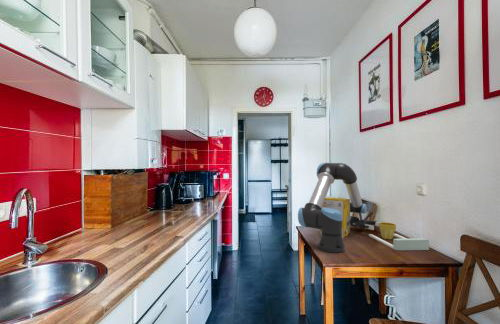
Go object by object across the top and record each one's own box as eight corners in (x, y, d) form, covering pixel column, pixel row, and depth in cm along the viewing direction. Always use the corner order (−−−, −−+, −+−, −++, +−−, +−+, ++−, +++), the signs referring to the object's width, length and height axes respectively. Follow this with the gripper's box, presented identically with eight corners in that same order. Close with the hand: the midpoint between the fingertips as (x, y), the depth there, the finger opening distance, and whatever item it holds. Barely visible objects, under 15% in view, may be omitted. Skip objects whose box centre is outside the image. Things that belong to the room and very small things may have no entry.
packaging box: (349, 233, 194) (350, 199, 194) (343, 238, 181) (343, 201, 181) (327, 230, 203) (328, 197, 203) (319, 234, 190) (320, 199, 190)
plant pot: (397, 237, 183) (397, 223, 183) (394, 241, 175) (394, 226, 175) (381, 235, 190) (381, 221, 190) (377, 238, 182) (377, 223, 182)
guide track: (368, 235, 188) (368, 227, 188) (396, 235, 189) (396, 226, 189) (396, 250, 156) (396, 240, 156) (428, 249, 158) (429, 239, 158)
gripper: (361, 224, 212) (388, 229, 195) (342, 228, 198) (368, 234, 181) (362, 214, 212) (388, 219, 195) (342, 218, 198) (369, 223, 181)
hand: (379, 226), depth 188 cm, fingers open, 13 cm apart
